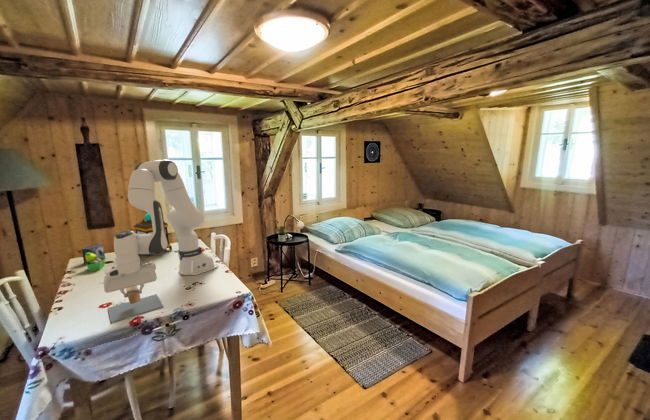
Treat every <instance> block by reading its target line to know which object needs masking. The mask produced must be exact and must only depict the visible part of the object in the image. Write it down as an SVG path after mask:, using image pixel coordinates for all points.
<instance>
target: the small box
mask: <svg viewBox="0 0 650 420" xmlns="http://www.w3.org/2000/svg"><path fill="white" fill-rule="evenodd" d="M88 252H90V253H92V254H95V255H96V256H97V257H96V258H103V257H106V256H105V255H106V254H105V249H104V244H97V243H95V244H93V245H92V244H91V245H89V246H87V247H82V248H81V253H82V258H83V264H87V263H88V261H87V260H86V257H85V254H86V253H88Z"/></svg>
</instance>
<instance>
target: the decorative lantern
mask: <svg viewBox="0 0 650 420" xmlns="http://www.w3.org/2000/svg"><path fill="white" fill-rule="evenodd" d="M168 226H169V223H167V222H166V221H164V227H165V234H166V237H167V241H168V246H167V248H166V249H169V251H172V249H173V248H172V245H171V244H170V240H169V239H170V238H169V233H168V232H169V231H168ZM132 227H133V229H134V230H135V234H152V233H153V227H152V219H151V215H150V214H149V213H148V212H146V214H145V215H144V219H142V220H141V221H140V222H138V223H136V224H134V225H133V226H132ZM147 257H148V258H150V257H151V254H147Z"/></svg>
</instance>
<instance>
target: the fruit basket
mask: <svg viewBox="0 0 650 420" xmlns="http://www.w3.org/2000/svg"><path fill="white" fill-rule="evenodd" d="M85 257H86V260H87V261H88V263H85V266H86V267H87V269H88V270H89V272H96V271H100V270H101V269H102V268H103V267H104V266H105V263H106V256H105V257H103V258H96V257H97V256H96V255H95V254H92V253H90V252H88V253H86V254H85Z"/></svg>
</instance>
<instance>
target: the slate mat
mask: <svg viewBox="0 0 650 420" xmlns="http://www.w3.org/2000/svg"><path fill="white" fill-rule="evenodd" d="M140 299H141V301H140V302H136V303H133V304H130V302H129V301H128V302H125V303H120V304H117V305H113V306H110V307H107V309H108V313H109V320H110V324H113V323H114V324H115V323H118V322H120V321H123V320H127V319H130V318H133V317H134V318H135V317H136V316H140V315H143V314H146V313H149V312H152V311H157V310H159V309H161V308H164V304H163V302H162V301H161V300H160V298H159V296H158V294H157V293H156V294H151V295H148V296H145V297H140Z"/></svg>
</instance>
